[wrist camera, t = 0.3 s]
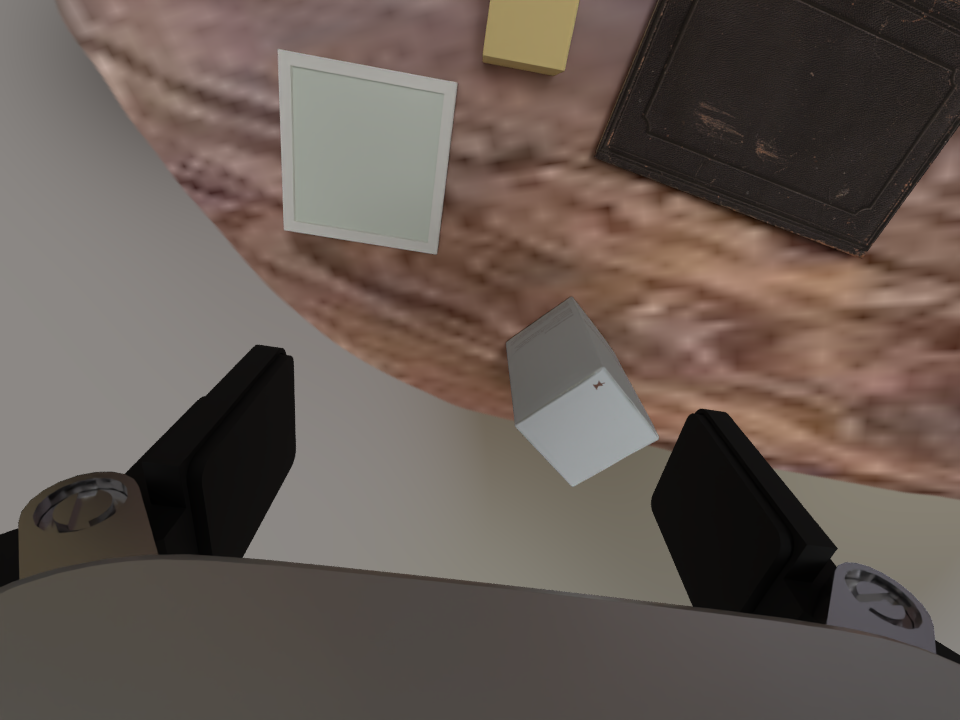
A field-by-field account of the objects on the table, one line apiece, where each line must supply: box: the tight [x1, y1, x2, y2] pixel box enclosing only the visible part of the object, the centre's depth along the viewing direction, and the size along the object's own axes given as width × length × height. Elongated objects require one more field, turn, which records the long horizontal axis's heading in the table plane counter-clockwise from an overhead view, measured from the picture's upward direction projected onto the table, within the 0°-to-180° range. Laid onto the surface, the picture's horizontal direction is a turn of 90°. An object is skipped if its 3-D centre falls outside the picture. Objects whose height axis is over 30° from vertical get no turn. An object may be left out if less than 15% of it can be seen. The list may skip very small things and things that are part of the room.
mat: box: [278, 49, 458, 255], centre depth 35 cm, size 12×12×1 cm
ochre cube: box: [483, 0, 579, 76], centre depth 29 cm, size 5×5×5 cm
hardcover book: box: [594, 0, 960, 259], centre depth 33 cm, size 16×23×2 cm
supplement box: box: [506, 297, 659, 487], centre depth 37 cm, size 7×7×13 cm
